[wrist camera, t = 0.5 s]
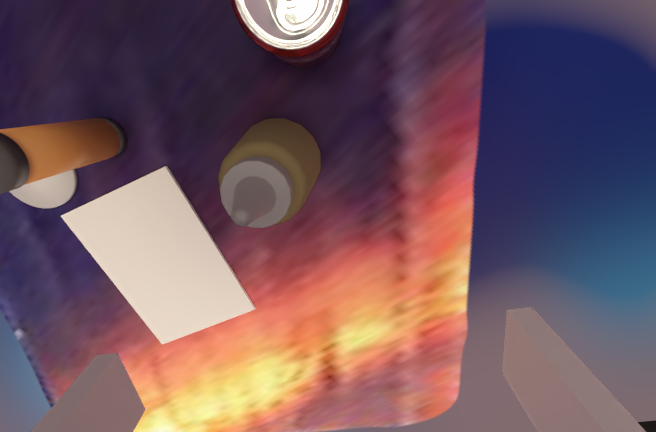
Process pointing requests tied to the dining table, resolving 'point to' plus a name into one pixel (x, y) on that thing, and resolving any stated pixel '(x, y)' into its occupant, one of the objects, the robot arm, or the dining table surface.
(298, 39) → the soda can
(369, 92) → the dining table surface
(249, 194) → the squeeze bottle
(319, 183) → the dining table surface
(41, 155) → the thermos bottle
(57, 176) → the coaster
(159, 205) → the paper
